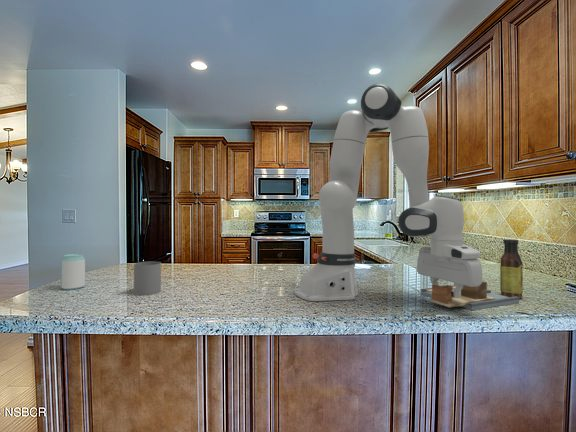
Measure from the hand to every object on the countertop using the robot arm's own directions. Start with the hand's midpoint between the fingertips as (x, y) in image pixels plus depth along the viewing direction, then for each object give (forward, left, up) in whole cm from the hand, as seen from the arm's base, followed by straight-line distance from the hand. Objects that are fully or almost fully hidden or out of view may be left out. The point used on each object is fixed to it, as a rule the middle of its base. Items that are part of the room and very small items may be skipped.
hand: (445, 294), depth 91 cm
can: (-109, +64, -4) cm, 126 cm away
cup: (-84, +49, -4) cm, 97 cm away
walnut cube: (+12, 0, -2) cm, 12 cm away
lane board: (+16, +5, -4) cm, 17 cm away
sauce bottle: (+32, +1, -4) cm, 32 cm away
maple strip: (+7, 0, -3) cm, 8 cm away
